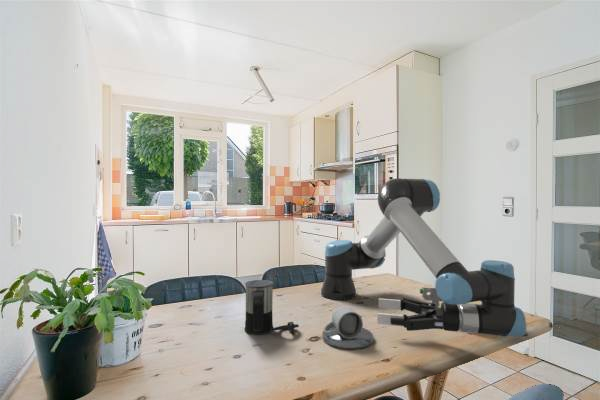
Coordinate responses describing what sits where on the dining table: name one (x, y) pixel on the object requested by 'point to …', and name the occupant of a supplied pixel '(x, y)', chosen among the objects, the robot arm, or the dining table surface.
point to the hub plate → (349, 340)
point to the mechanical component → (431, 295)
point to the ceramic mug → (344, 323)
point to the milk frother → (261, 308)
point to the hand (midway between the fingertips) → (378, 310)
